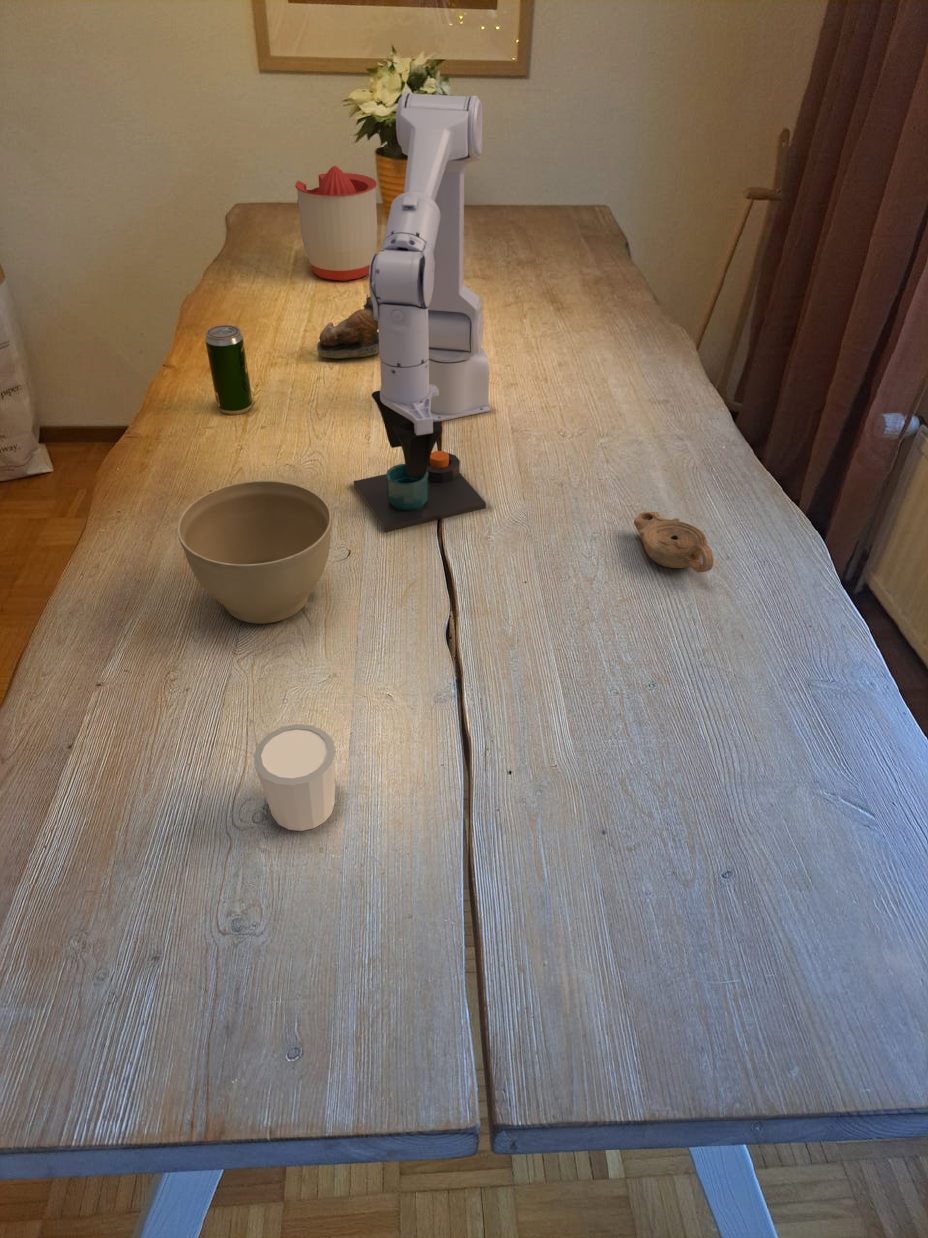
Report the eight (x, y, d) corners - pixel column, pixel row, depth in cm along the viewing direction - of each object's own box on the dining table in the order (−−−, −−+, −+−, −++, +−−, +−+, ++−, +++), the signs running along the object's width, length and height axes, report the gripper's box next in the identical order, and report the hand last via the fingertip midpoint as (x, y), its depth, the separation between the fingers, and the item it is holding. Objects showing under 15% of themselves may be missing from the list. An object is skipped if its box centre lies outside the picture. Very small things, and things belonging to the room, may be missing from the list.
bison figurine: (318, 365, 151) (312, 305, 145) (317, 348, 157) (312, 289, 150) (390, 362, 153) (387, 303, 146) (387, 345, 158) (384, 287, 151)
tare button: (444, 457, 124) (444, 449, 123) (451, 466, 122) (451, 457, 122) (426, 461, 123) (426, 452, 122) (434, 470, 122) (434, 461, 121)
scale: (449, 464, 127) (449, 448, 125) (487, 508, 119) (488, 491, 117) (353, 485, 122) (351, 469, 121) (385, 533, 114) (384, 516, 112)
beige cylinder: (267, 777, 83) (257, 725, 79) (342, 773, 84) (336, 721, 79) (260, 839, 78) (249, 786, 74) (340, 834, 79) (334, 781, 74)
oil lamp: (617, 536, 114) (622, 502, 111) (667, 523, 116) (674, 490, 113) (675, 596, 105) (682, 561, 102) (729, 581, 107) (737, 546, 104)
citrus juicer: (333, 252, 195) (325, 150, 182) (396, 269, 187) (392, 163, 174) (281, 272, 185) (269, 165, 172) (345, 291, 177) (337, 181, 164)
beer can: (225, 418, 137) (212, 341, 129) (212, 404, 140) (198, 329, 132) (258, 409, 139) (247, 333, 131) (244, 396, 142) (233, 321, 135)
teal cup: (380, 496, 119) (378, 470, 116) (416, 485, 121) (415, 459, 118) (399, 516, 115) (398, 489, 113) (436, 504, 117) (435, 477, 115)
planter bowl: (218, 663, 95) (200, 581, 88) (179, 579, 106) (161, 500, 99) (360, 619, 101) (354, 538, 94) (310, 544, 112) (301, 467, 105)
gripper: (458, 378, 101) (457, 482, 110) (417, 329, 112) (419, 428, 120) (397, 387, 99) (401, 493, 108) (362, 336, 110) (368, 437, 119)
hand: (407, 459), depth 114 cm, fingers open, 7 cm apart
